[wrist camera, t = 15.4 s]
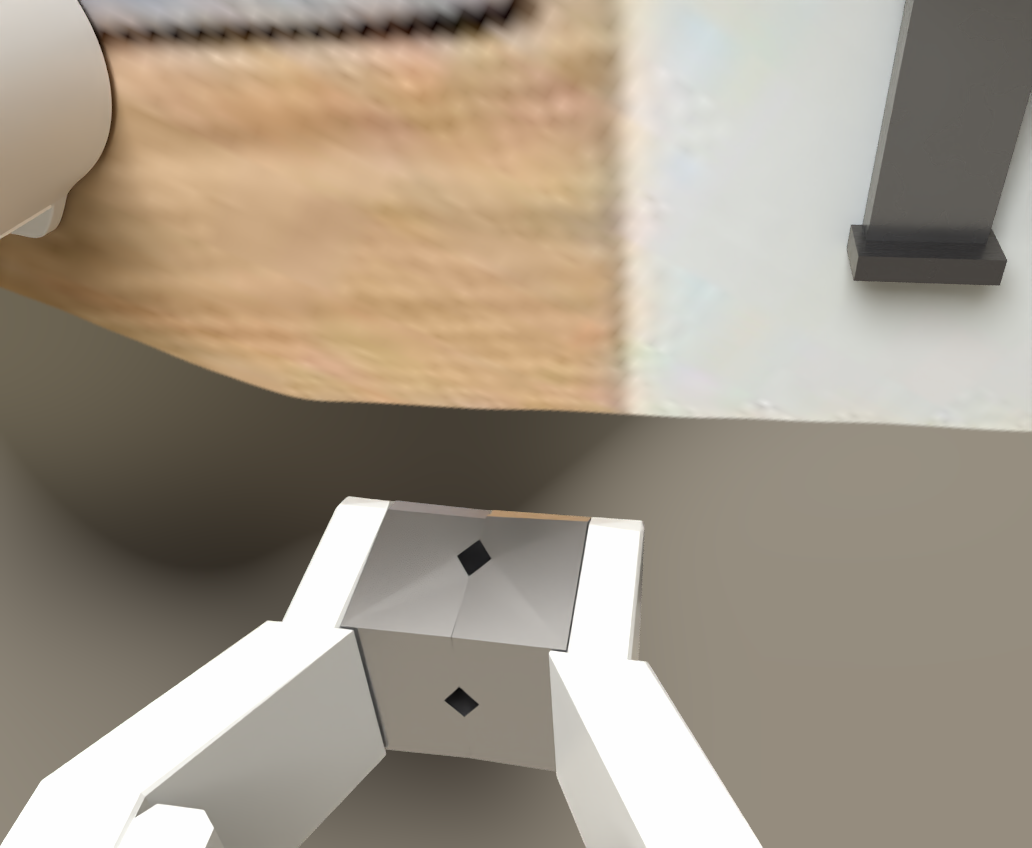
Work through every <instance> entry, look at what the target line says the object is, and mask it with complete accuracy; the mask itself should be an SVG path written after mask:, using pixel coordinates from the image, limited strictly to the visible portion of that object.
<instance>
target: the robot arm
mask: <svg viewBox="0 0 1032 848" xmlns="http://www.w3.org/2000/svg"><path fill="white" fill-rule="evenodd" d="M111 115H112V98H111V88H110V82H109V76H108V72H107V68H106V64H105V60H104V57H103V54H102V51H101V48H100V45H99V43H98V40H97V38H96V35H95V33H94V31H93V29H92V26H91V24H90V22H89V20H88V18H87V16H86V15H85V13H84V11H83V9H82V8H81V6H80V4H79V3H78V1H77V0H0V239H1V238H3V237H4V236H6V235H8V234H9V233H11V234H16V235H20V236H25V237H30V238H40V237H43V236H44V235H46V234H48V233H50V232H51V231H53V230H55V229H56V228H57V226H58V225H59V223H60V221H61V218H62V215H63V211H64V207H65V202H66V198H67V194H68V193H69V191H70V190H71V188H72V187H73V186H74V185H75V184H76V183H77V182H78V181H79V180H80V179H82V178H83V177H84V176H85V175H86V174H87V173H88V172H89V171H90V170H91V169H92V168H93V166H94V165H95V164H96V162H97V161H98V159H99V157H100V156H101V154H102V152H103V149H104V147H105V145H106V142H107V138H108V135H109V130H110V125H111ZM643 551H644V522H643V521H640V520H626V519H611V518H596V517H592V518H591V517H581V516H567V515H553V514H539V513H524V512H512V511H498V510H492V511H489V510H479V509H470V508H460V507H450V506H442V505H432V504H423V503H414V502H404V501H395V502H394V501H385V500H376V499H367V498H357V497H347V498H346V499H345V500H344V501H343V502H342V503H341V504H340V505H338V507H337V508H336V510H335V512H334V514H333V516H332V518H331V520H330V522H329V524H328V526H327V528H326V530H325V533H324V535H323V537H322V539H321V541H320V543H319V545H318V547H317V549H316V552H315V553H314V556H313V558H312V560H311V562H310V564H309V566H308V568H307V570H306V572H305V575H304V577H303V579H302V581H301V583H300V585H299V587H298V589H297V591H296V593H295V595H294V597H293V600H292V602H291V604H290V606H289V608H288V610H287V612H286V614H285V616H284V619H283V621H282V622H278V621H266V622H265V623H263V624H262V625H261V626H259V627H258V628H256V629H255V630H254V631H252V632H251V633H249V634H248V635H246V636H245V637H244V638H242V639H241V640H239V641H238V642H237V643H235V644H234V645H232V646H231V647H230V648H228V649H227V650H225V651H224V652H222V653H221V654H220V655H218V656H217V657H215V658H214V659H213V660H211V661H210V662H208V663H207V664H206V665H204V666H203V667H201V668H200V669H198V670H197V671H196V672H194V673H193V674H191V675H190V676H189V677H187V678H186V679H185V680H183V681H181V682H180V683H179V684H177V685H176V686H175V687H173V688H172V689H170V690H169V691H167V692H166V693H165V694H163V695H162V696H160V697H159V698H158V699H156V700H155V701H153V702H152V703H150V704H149V705H148V706H146V707H145V708H144V709H142V710H141V711H139V712H138V713H137V714H135V715H134V716H132V717H131V718H129V719H128V720H127V721H125V722H124V723H122V724H121V725H119V726H118V727H117V728H115V729H114V730H113V731H111V732H110V733H108V734H107V735H105V736H104V737H102V738H101V739H100V740H98V741H97V742H96V743H94V744H93V745H91V746H90V747H88V748H87V749H86V750H84V751H83V752H81V753H80V754H78V755H77V756H76V757H74V758H73V759H71V760H70V761H69V762H67V763H66V764H64V765H63V766H62V767H60V768H59V769H57V770H56V771H55V772H53V773H52V774H50V775H49V776H47V777H46V778H45V779H43V780H42V781H41V782H40V784H39V785H38V787H37V789H36V790H35V792H34V793H33V795H32V797H31V798H30V800H29V801H28V803H27V805H26V806H25V808H24V809H23V811H22V812H21V814H20V816H19V817H18V819H17V820H16V822H15V824H14V825H13V827H12V828H11V830H10V832H9V833H8V835H7V836H6V838H5V839H4V841H3V843H2V844H1V846H0V848H298V847H299V846H300V845H301V844H302V843H303V842H304V841H305V840H306V839H307V837H309V835H310V834H311V833H312V832H313V831H314V830H315V829H316V828H317V827H318V826H319V825H320V824H321V823H322V822H323V821H324V820H325V819H326V817H327V816H328V815H329V814H330V813H331V812H332V811H333V810H334V809H335V808H336V807H337V806H338V805H339V804H340V803H341V802H342V801H343V800H344V799H345V797H346V796H347V795H348V794H349V793H350V792H351V791H352V790H353V789H354V788H355V787H356V786H357V785H358V783H360V782H361V781H362V780H363V779H364V778H365V776H366V775H367V774H368V773H369V772H370V771H371V770H372V769H373V768H374V767H375V766H376V765H377V764H378V763H379V762H380V761H381V760H382V759H383V757H384V756H385V755H386V752H385V749H388V750H398V751H407V752H417V753H427V754H437V755H446V756H456V757H466V758H474V759H481V760H487V761H492V762H499V763H505V764H512V765H518V766H524V767H530V768H537V769H543V770H550V771H556V775H557V778H558V781H559V783H560V786H561V788H562V790H563V793H564V795H565V798H566V800H567V803H568V805H569V808H570V810H571V812H572V815H573V817H574V819H575V822H576V825H577V827H578V829H579V832H580V834H581V837H582V839H583V841H584V844H585V847H586V848H762V846H761V844H760V842H759V841H758V839H757V838H756V836H755V834H754V833H753V831H752V829H751V828H750V826H749V825H748V823H747V821H746V820H745V818H744V817H743V815H742V813H741V812H740V810H739V809H738V807H737V805H736V804H735V802H734V800H733V799H732V797H731V796H730V794H729V792H728V791H727V789H726V788H725V786H724V784H723V783H722V781H721V779H720V778H719V776H718V775H717V773H716V771H715V770H714V768H713V767H712V765H711V763H710V762H709V760H708V759H707V757H706V755H705V754H704V752H703V750H702V749H701V747H700V746H699V744H698V742H697V741H696V739H695V738H694V736H693V734H692V733H691V731H690V729H689V728H688V726H687V725H686V723H685V721H684V720H683V718H682V717H681V715H680V713H679V712H678V710H677V708H676V707H675V705H674V704H673V702H672V700H671V699H670V697H669V696H668V694H667V693H666V691H665V689H664V688H663V686H662V684H661V683H660V681H659V679H658V678H657V676H656V675H655V673H654V671H653V670H652V668H651V667H650V665H649V663H648V662H645V661H638V657H639V638H640V637H639V636H640V618H641V596H642V574H643Z"/></svg>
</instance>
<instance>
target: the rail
mask: <svg viewBox="0 0 1032 848" xmlns="http://www.w3.org/2000/svg"><path fill="white" fill-rule="evenodd" d="M1031 88H1032V0H906V1H905V7H904V12H903V17H902V22H901V27H900V33H899V38H898V43H897V48H896V53H895V59H894V64H893V69H892V74H891V79H890V85H889V90H888V95H887V100H886V105H885V111H884V116H883V121H882V126H881V131H880V137H879V142H878V147H877V152H876V157H875V163H874V168H873V173H872V178H871V183H870V189H869V194H868V199H867V204H866V209H865V215H864V220H863V225H851V228H850V233H849V239H848V244H847V252H848V257H849V261H850V266H851V270H852V275H853V279H854V281H884V282H914V283H944V284H974V285H1000V282H1001V279H1002V276H1003V273H1004V269H1005V266H1006V263H1007V259H1006V257H1005V255H1004V253H1003V251H1002V249H1001V247H1000V245H999V243H998V241H997V239H996V237H995V235H994V233H993V231H992V229H991V227H992V223H993V220H994V216H995V213H996V210H997V206H998V203H999V199H1000V196H1001V192H1002V189H1003V185H1004V182H1005V178H1006V175H1007V171H1008V168H1009V165H1010V161H1011V158H1012V154H1013V151H1014V147H1015V144H1016V140H1017V137H1018V133H1019V130H1020V126H1021V123H1022V119H1023V116H1024V113H1025V109H1026V106H1027V102H1028V99H1029V95H1030V92H1031Z"/></svg>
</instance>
